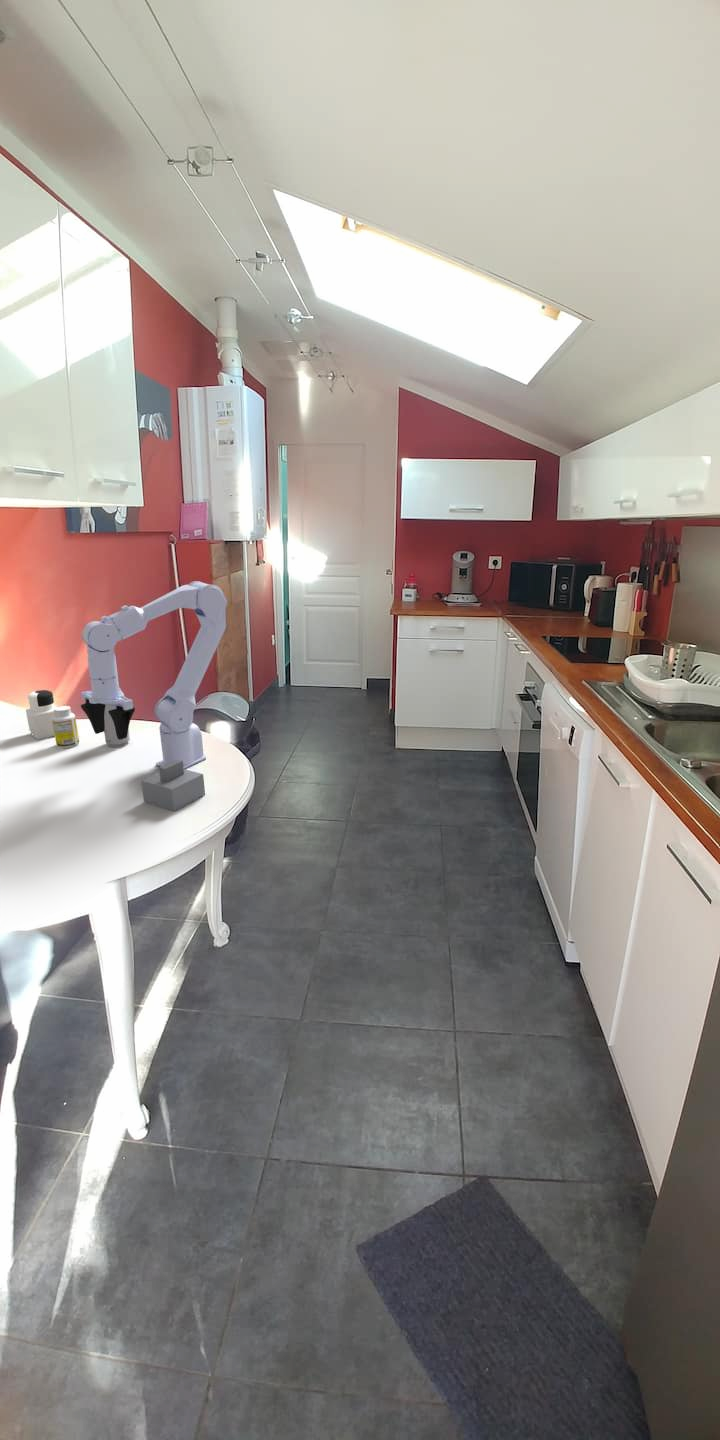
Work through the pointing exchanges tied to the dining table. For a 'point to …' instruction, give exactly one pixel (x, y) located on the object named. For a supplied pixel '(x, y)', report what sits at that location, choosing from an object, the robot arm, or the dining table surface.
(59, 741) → the supplement bottle
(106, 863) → the dining table surface
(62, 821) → the dining table surface
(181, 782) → the grey stepped block
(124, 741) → the energy drink can
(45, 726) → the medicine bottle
